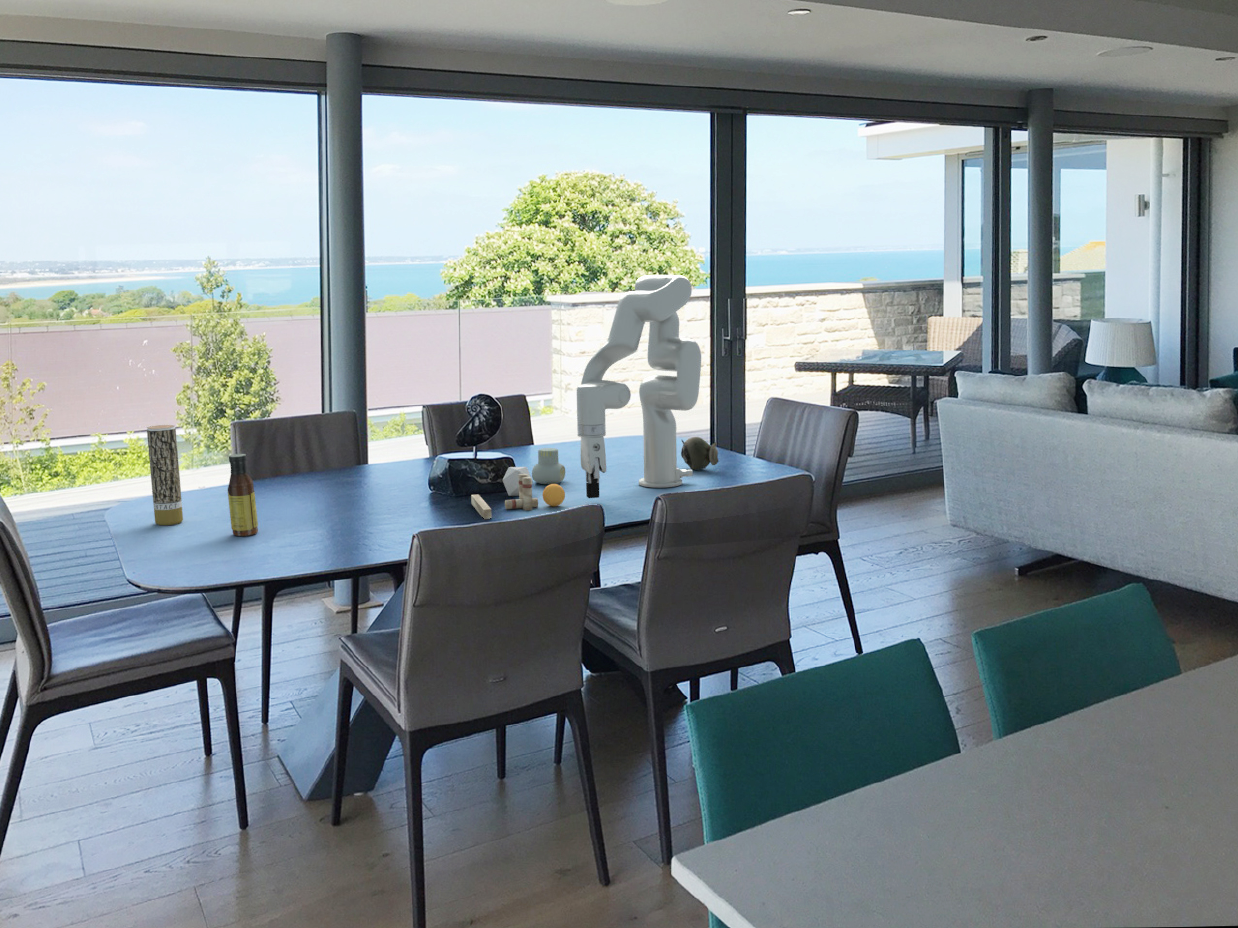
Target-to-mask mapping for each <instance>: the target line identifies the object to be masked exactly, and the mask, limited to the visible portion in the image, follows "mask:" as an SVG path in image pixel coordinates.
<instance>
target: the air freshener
mask: <svg viewBox="0 0 1238 928" xmlns="http://www.w3.org/2000/svg"><path fill="white" fill-rule="evenodd" d="M537 453H538V454H537V456H538V457H537V459H538V461H537V462H538V463H537V464H534V465H533V467H532V469H531V470H532V472H531V478H532V481H533V482H536V483H537V484H539V485H550V484H557V485H559V484H561V482H563V480H564V479H565V476H566V467H565V465H564V464H562V463H560V462H559V449H557V448H553V447H544V448H543V447H542V448H539V449H538V450H537Z"/></svg>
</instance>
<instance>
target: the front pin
mask: <svg viewBox="0 0 1238 928" xmlns="http://www.w3.org/2000/svg"><path fill="white" fill-rule="evenodd" d="M504 507H505V510H515V509H523V499H519V498H518V499H517V498H516V499H505V500H504ZM538 507H539V500H538V498H537V497H534V498H533V497H532V508H538Z"/></svg>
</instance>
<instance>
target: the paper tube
mask: <svg viewBox="0 0 1238 928" xmlns="http://www.w3.org/2000/svg"><path fill="white" fill-rule="evenodd" d="M146 434H147V435H146V437H147V449H148V456H149V457H148V458H149V469H150V480H151V481H150V482H151V490H152V491H151V492H152V493H151V494H152V502H153V503H152V504H153V512H154V514H153V515H154V523H155V524H156V525H158V526H172V525H173V526H174V525H178V524H181V523H182V522H183V521H184V516H183V515H184V514H183V502H182V489H181V477H180V468H179V467H180V466H179V455H178V452H179V451H178V443H177V431H176V425H173V424H162V425H161V424H160V425H159V424H157V425H151V426H148V427H146Z"/></svg>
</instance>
